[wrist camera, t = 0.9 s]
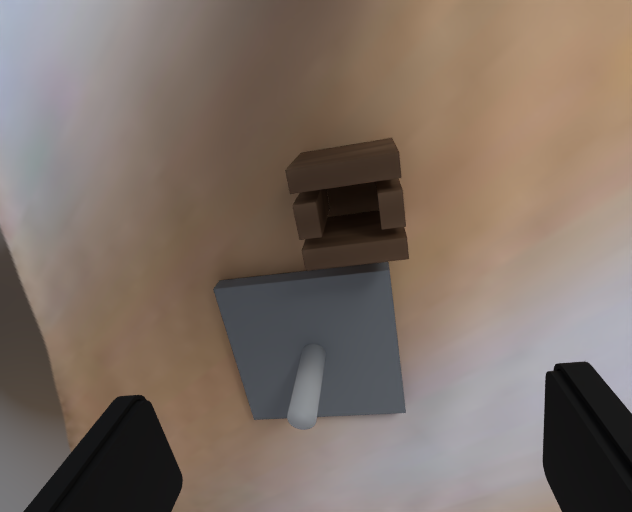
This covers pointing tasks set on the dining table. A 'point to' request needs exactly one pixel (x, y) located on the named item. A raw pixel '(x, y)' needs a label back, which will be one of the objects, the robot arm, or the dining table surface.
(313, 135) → the dining table surface
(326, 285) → the stand
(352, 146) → the wooden block stack
